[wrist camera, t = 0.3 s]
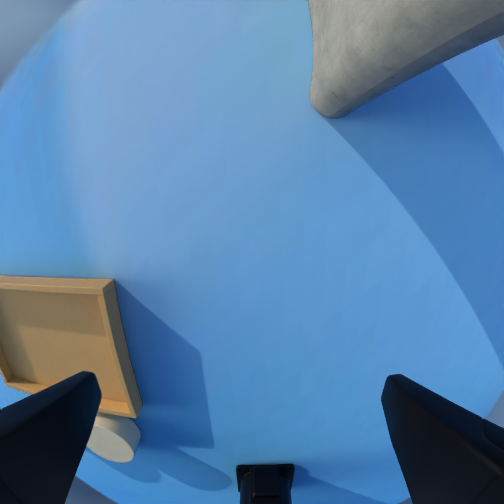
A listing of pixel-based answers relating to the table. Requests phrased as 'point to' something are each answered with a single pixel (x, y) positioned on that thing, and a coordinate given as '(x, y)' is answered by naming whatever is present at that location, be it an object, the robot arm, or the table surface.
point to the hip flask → (389, 44)
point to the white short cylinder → (114, 437)
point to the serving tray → (66, 338)
